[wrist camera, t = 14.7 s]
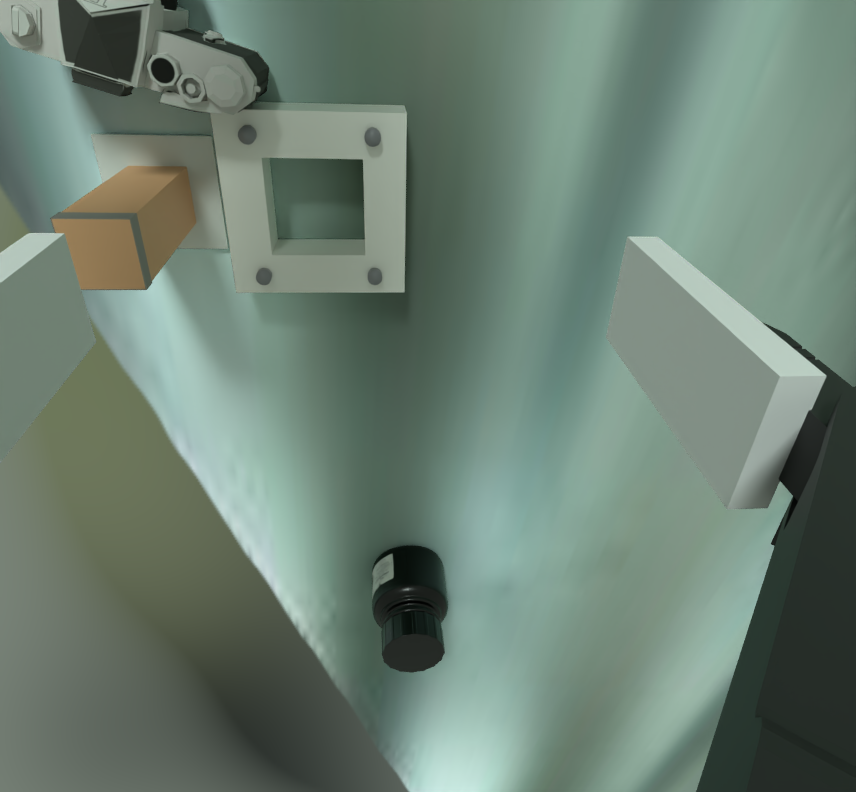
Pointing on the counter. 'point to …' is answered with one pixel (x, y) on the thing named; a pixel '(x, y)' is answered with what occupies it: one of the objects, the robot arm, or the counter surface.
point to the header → (316, 139)
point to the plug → (128, 227)
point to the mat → (173, 152)
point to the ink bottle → (410, 607)
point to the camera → (138, 50)
